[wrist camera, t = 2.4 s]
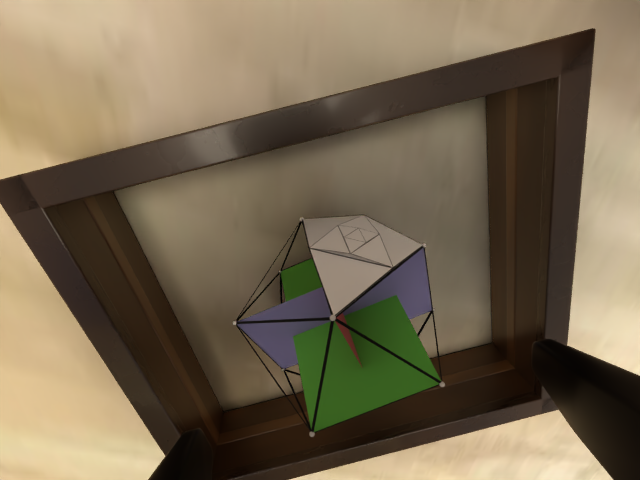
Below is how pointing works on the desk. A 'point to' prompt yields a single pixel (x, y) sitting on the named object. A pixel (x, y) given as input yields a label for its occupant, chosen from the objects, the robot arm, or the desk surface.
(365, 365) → the geometric puzzle
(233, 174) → the desk surface
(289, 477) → the square wooden frame
